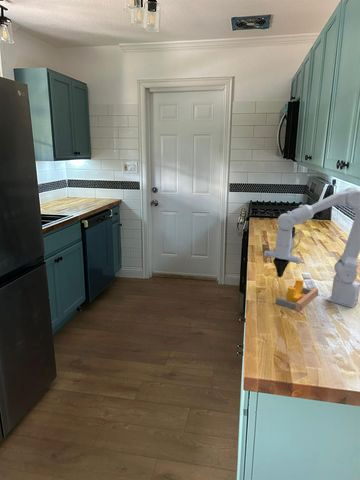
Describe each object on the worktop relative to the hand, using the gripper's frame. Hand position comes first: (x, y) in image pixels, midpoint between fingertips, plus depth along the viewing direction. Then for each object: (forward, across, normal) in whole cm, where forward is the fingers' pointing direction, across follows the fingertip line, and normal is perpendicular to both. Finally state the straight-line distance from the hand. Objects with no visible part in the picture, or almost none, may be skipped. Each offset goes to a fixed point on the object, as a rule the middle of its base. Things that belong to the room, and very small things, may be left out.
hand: (280, 276), depth 137 cm
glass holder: (+8, +20, -57) cm, 61 cm away
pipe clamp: (+8, -8, 0) cm, 11 cm away
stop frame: (+8, -8, 0) cm, 11 cm away
